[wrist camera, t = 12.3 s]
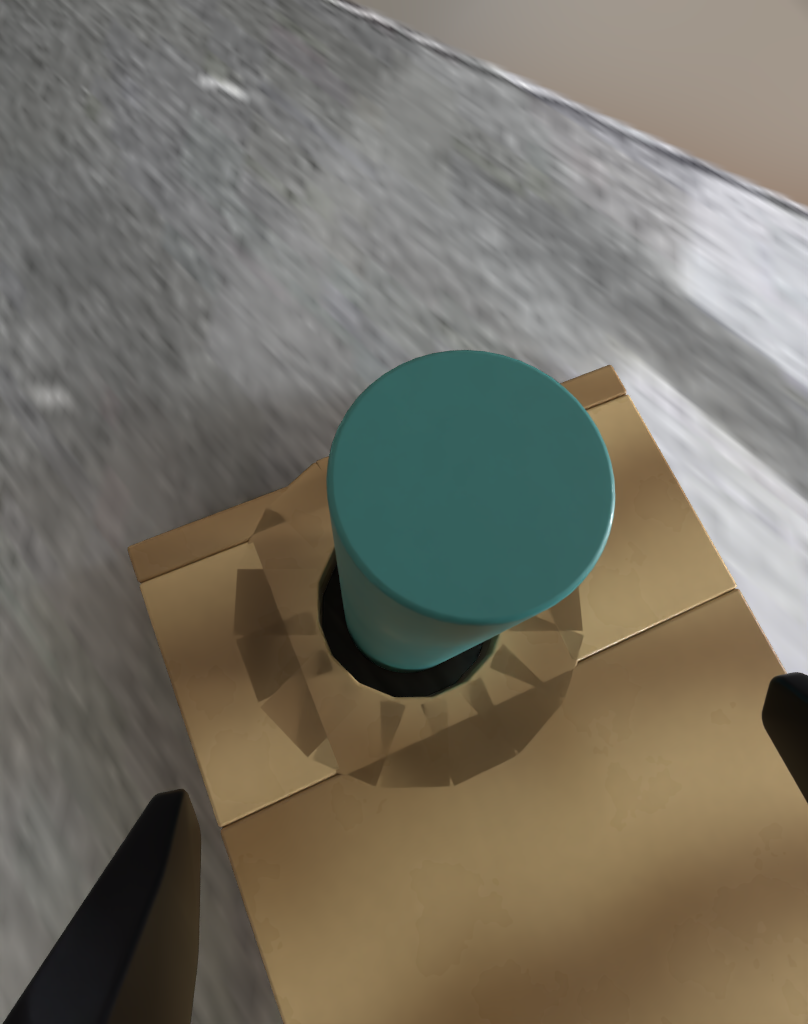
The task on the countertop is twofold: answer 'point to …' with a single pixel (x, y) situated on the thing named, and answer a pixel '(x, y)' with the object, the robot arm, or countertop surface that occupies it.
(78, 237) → the countertop surface
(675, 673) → the board
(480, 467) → the peg
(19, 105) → the countertop surface
